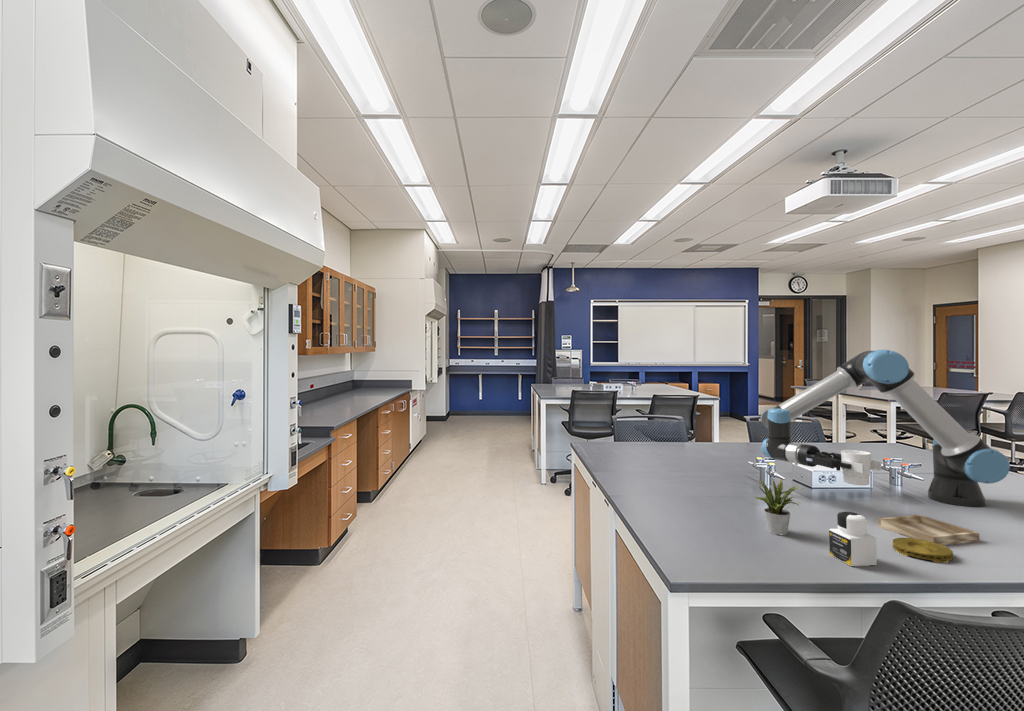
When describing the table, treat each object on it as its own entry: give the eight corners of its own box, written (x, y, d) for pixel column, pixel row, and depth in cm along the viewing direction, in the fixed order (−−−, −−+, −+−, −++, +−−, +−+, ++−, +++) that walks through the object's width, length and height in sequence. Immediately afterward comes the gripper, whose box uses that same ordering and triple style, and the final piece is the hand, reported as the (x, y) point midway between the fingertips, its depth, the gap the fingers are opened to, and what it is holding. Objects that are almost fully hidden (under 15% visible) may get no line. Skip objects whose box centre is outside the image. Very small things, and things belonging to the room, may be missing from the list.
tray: (919, 522, 146) (919, 514, 146) (979, 541, 130) (979, 532, 130) (877, 526, 143) (877, 518, 143) (933, 546, 127) (933, 537, 127)
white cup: (863, 487, 145) (862, 455, 145) (836, 481, 152) (835, 451, 152) (876, 484, 148) (875, 453, 149) (849, 478, 155) (848, 449, 156)
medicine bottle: (828, 555, 122) (828, 509, 122) (854, 554, 123) (853, 509, 123) (851, 567, 115) (849, 518, 115) (877, 565, 115) (876, 517, 116)
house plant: (813, 545, 128) (812, 486, 129) (757, 539, 133) (756, 482, 134) (801, 528, 142) (800, 475, 142) (751, 523, 147) (750, 471, 147)
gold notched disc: (890, 554, 123) (890, 546, 123) (895, 542, 131) (895, 534, 131) (952, 568, 114) (952, 559, 114) (953, 554, 123) (953, 545, 123)
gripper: (823, 462, 171) (892, 476, 149) (783, 467, 163) (850, 482, 142) (822, 442, 171) (892, 452, 149) (783, 446, 163) (850, 458, 142)
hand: (871, 467), depth 146 cm, fingers closed on white cup, 8 cm apart
